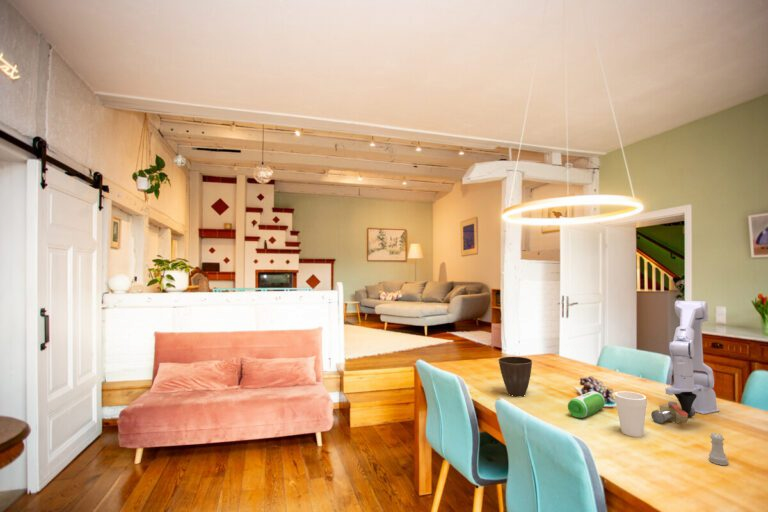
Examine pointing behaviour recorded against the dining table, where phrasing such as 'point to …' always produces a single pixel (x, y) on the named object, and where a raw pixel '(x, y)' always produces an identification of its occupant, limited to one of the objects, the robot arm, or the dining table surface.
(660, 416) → the valve body
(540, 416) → the dining table surface
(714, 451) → the rook chess piece
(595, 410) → the speaker
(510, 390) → the plant pot
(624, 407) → the foam cup
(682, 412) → the lever
